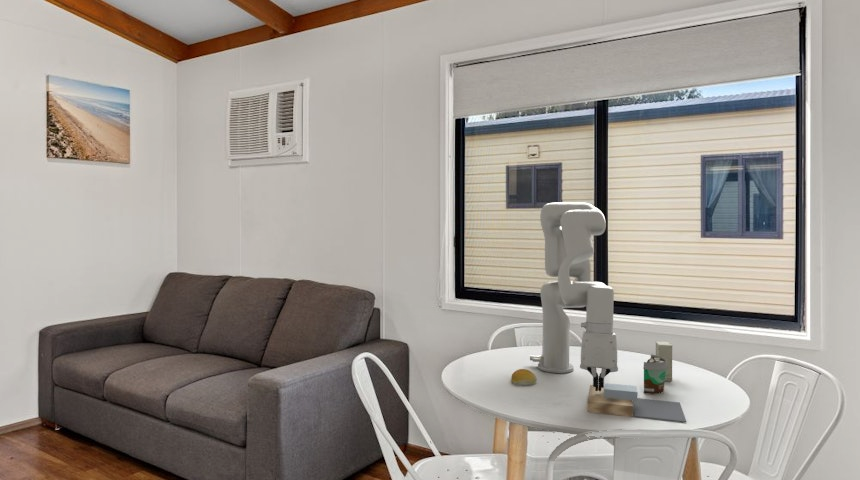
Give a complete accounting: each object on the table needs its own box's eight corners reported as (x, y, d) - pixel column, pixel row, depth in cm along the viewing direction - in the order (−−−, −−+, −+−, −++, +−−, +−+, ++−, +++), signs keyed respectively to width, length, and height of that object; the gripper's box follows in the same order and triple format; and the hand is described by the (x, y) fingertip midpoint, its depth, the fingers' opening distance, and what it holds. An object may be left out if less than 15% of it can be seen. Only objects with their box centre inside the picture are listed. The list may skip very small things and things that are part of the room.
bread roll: (510, 385, 181) (510, 373, 181) (512, 378, 190) (512, 366, 190) (536, 387, 179) (536, 375, 179) (536, 379, 188) (536, 367, 188)
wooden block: (587, 411, 157) (587, 401, 157) (589, 394, 172) (590, 384, 172) (632, 416, 153) (632, 406, 153) (631, 398, 168) (631, 388, 168)
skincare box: (672, 381, 186) (673, 345, 185) (658, 380, 187) (659, 344, 186) (668, 376, 192) (669, 341, 191) (654, 375, 193) (655, 340, 192)
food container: (664, 397, 169) (664, 365, 169) (642, 394, 172) (643, 362, 172) (670, 387, 180) (671, 356, 179) (650, 384, 183) (651, 354, 182)
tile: (603, 397, 160) (604, 389, 160) (604, 391, 166) (604, 383, 165) (637, 400, 157) (637, 392, 157) (636, 394, 163) (636, 385, 163)
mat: (634, 417, 153) (634, 415, 153) (632, 398, 168) (632, 397, 168) (686, 422, 149) (686, 421, 149) (679, 403, 164) (679, 402, 164)
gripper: (572, 328, 161) (571, 390, 162) (626, 332, 156) (625, 396, 157) (574, 323, 168) (573, 383, 169) (626, 327, 163) (625, 388, 164)
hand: (598, 389), depth 163 cm, fingers closed
